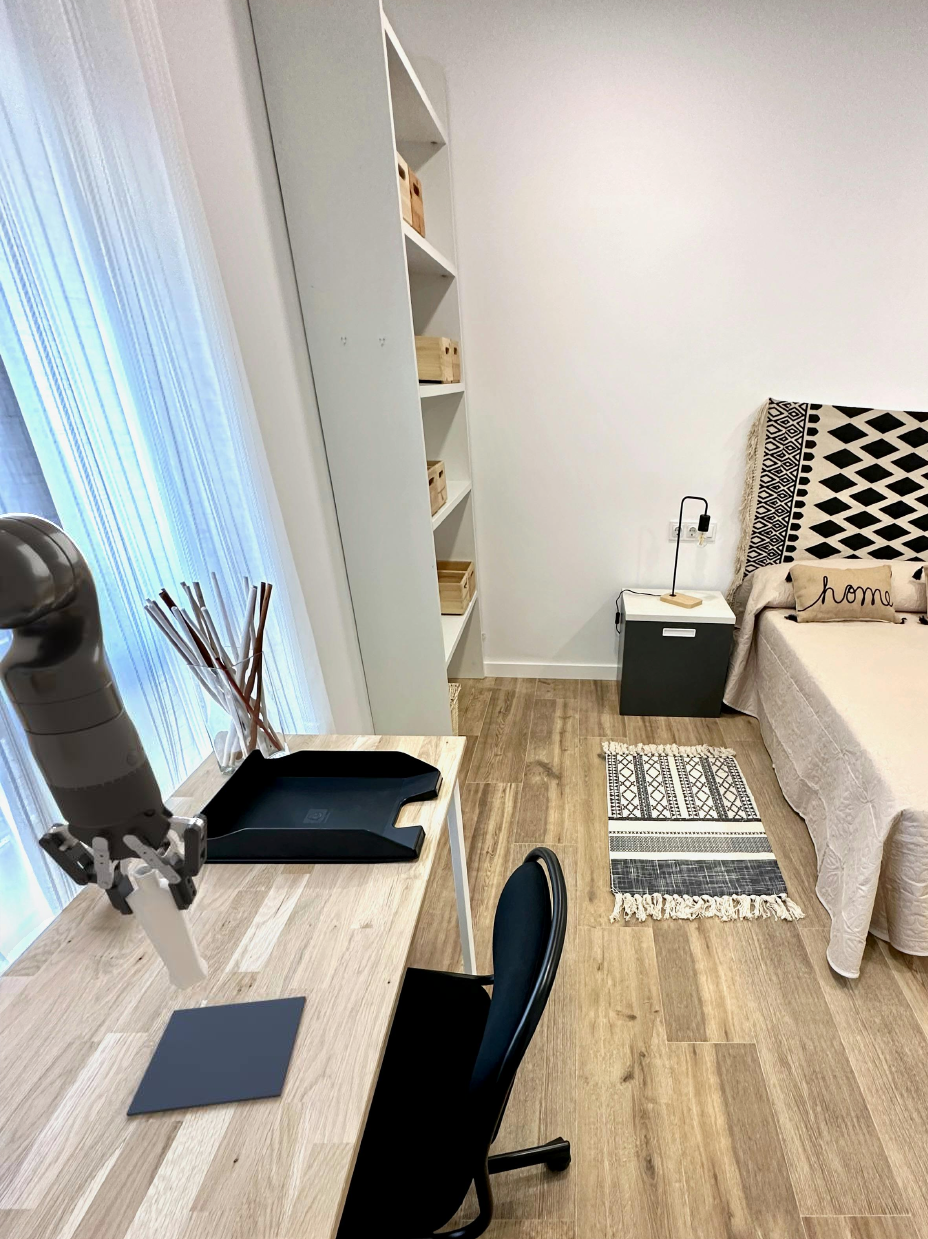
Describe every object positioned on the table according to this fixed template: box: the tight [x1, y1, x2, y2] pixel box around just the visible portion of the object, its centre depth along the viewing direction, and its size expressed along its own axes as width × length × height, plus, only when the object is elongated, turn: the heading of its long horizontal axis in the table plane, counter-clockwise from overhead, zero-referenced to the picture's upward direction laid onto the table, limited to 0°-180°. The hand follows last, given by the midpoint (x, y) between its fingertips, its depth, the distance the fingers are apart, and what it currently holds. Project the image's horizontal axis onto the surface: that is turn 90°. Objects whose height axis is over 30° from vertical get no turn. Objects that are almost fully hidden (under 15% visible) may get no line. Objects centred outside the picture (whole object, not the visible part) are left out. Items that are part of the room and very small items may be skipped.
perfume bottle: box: [125, 863, 209, 991], centre depth 68 cm, size 5×4×15 cm
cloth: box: [125, 995, 307, 1117], centre depth 79 cm, size 16×14×1 cm
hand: (158, 906), depth 66 cm, fingers closed on perfume bottle, 4 cm apart
